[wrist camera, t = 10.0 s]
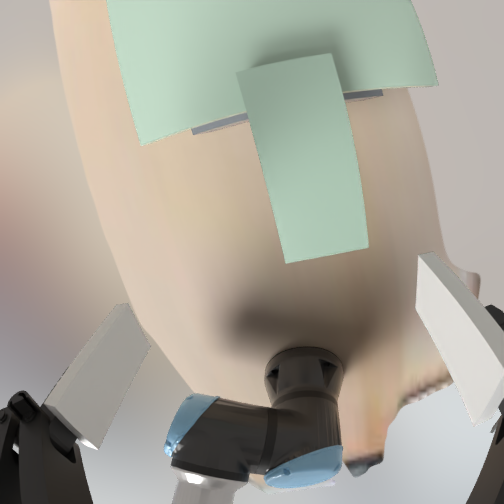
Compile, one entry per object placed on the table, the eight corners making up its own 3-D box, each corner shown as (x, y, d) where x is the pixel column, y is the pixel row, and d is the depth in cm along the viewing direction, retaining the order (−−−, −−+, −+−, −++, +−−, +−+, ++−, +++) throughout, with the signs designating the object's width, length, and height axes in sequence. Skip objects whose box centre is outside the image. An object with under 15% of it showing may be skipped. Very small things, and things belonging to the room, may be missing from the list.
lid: (436, 202, 19) (470, 226, 14) (193, 249, 23) (171, 283, 18) (345, -85, 8) (354, -116, 3) (116, -30, 12) (84, -49, 7)
